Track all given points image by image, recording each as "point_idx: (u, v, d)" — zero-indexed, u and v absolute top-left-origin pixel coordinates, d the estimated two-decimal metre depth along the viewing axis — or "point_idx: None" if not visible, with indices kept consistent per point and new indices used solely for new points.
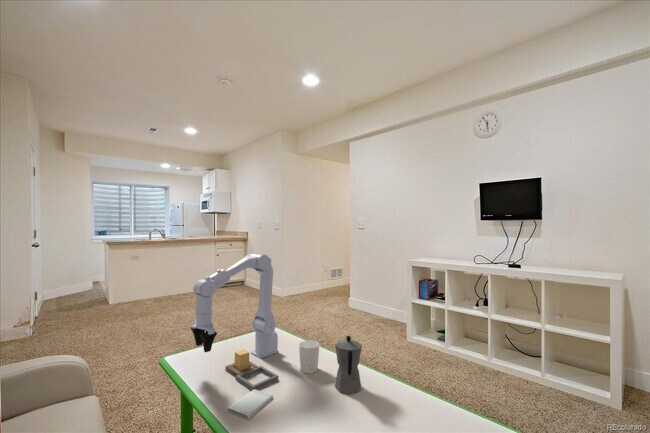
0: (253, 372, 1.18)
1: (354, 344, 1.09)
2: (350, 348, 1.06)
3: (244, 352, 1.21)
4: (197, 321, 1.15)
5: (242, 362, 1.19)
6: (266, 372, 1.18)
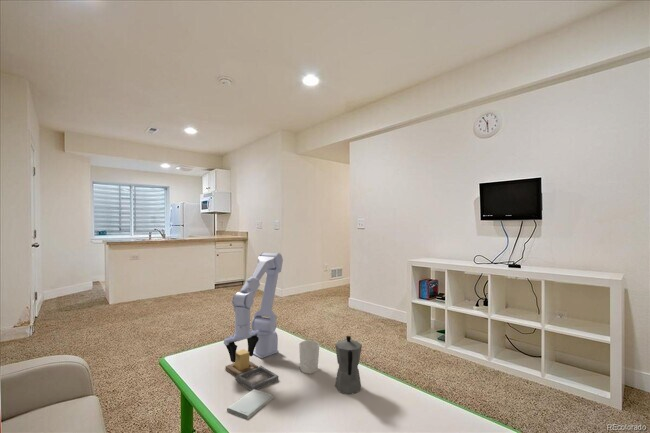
0: (253, 372, 1.18)
1: (354, 344, 1.09)
2: (350, 348, 1.06)
3: (244, 352, 1.21)
4: None
5: (242, 362, 1.19)
6: (266, 372, 1.18)
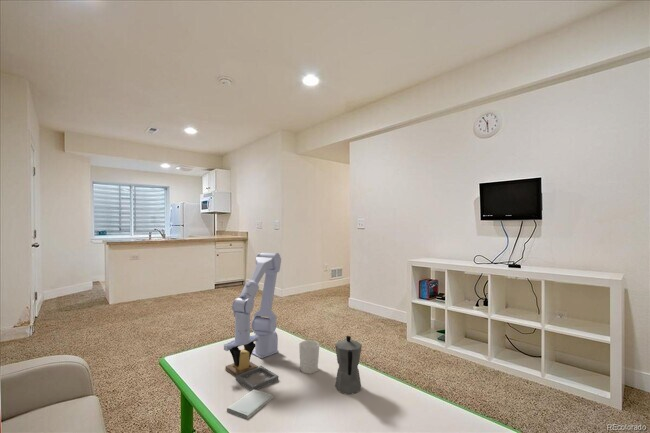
0: (253, 372, 1.18)
1: (354, 344, 1.09)
2: (350, 348, 1.06)
3: (244, 352, 1.21)
4: None
5: (242, 362, 1.19)
6: (266, 372, 1.18)
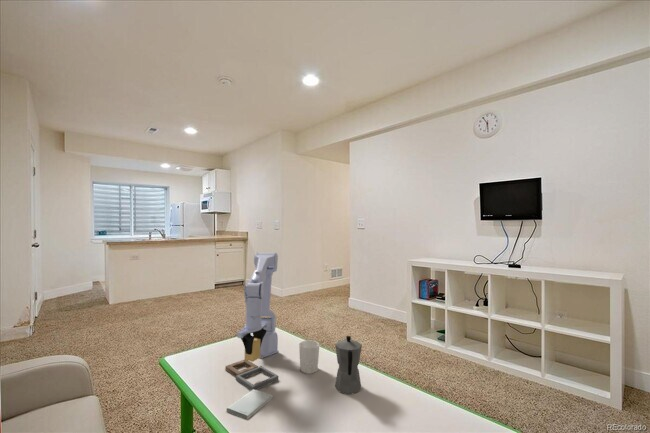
0: (253, 372, 1.18)
1: (354, 344, 1.09)
2: (350, 348, 1.06)
3: (255, 339, 1.16)
4: None
5: (254, 349, 1.14)
6: (266, 372, 1.18)
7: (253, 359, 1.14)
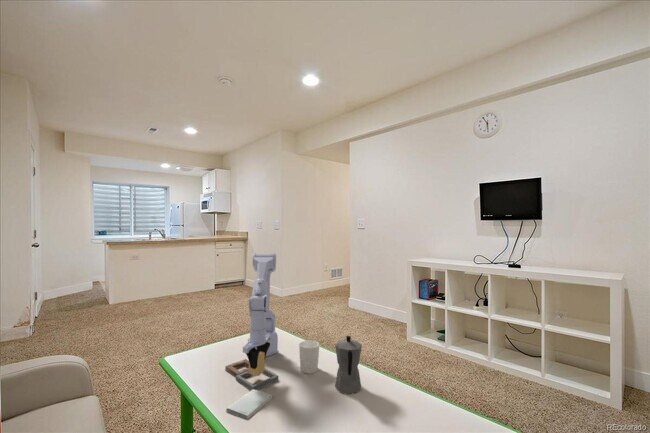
0: None
1: (354, 344, 1.09)
2: (350, 348, 1.06)
3: (259, 353, 1.14)
4: None
5: (259, 363, 1.12)
6: (266, 372, 1.18)
7: (258, 373, 1.12)
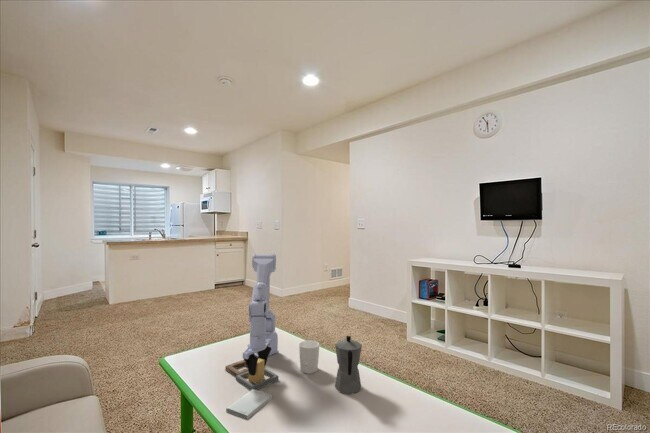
0: None
1: (354, 344, 1.09)
2: (350, 348, 1.06)
3: (259, 360, 1.14)
4: None
5: (259, 371, 1.12)
6: (266, 372, 1.18)
7: (258, 381, 1.12)
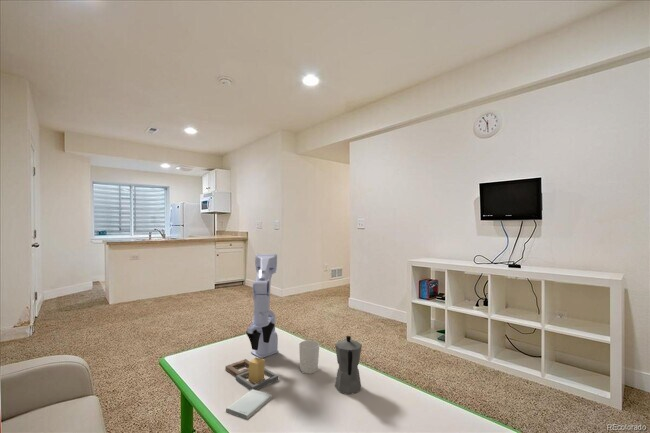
0: None
1: (354, 344, 1.09)
2: (350, 348, 1.06)
3: (259, 360, 1.14)
4: None
5: (259, 371, 1.12)
6: (266, 372, 1.18)
7: (258, 381, 1.12)
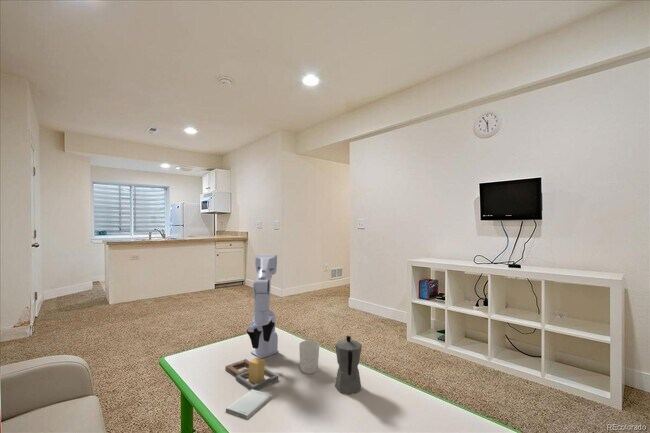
0: None
1: (354, 344, 1.09)
2: (350, 348, 1.06)
3: (259, 360, 1.14)
4: None
5: (259, 371, 1.12)
6: (266, 372, 1.18)
7: (258, 381, 1.12)
